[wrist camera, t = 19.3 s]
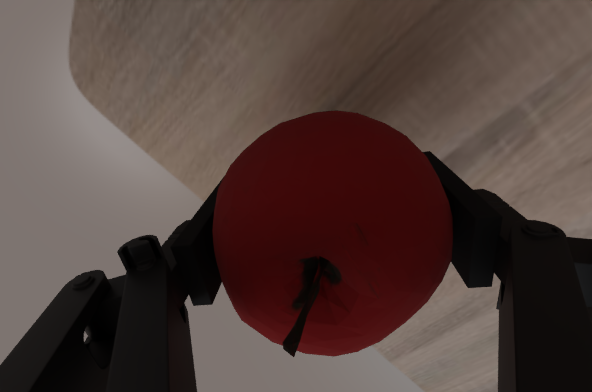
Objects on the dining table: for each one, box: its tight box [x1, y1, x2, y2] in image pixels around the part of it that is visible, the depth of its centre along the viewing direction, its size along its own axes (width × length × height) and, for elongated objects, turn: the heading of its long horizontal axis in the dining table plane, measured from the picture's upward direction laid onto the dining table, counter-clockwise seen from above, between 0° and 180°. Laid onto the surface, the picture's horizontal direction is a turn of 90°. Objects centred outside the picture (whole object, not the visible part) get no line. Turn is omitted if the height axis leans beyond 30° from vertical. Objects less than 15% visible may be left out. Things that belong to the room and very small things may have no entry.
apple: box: [212, 111, 453, 357], centre depth 12 cm, size 9×9×10 cm
